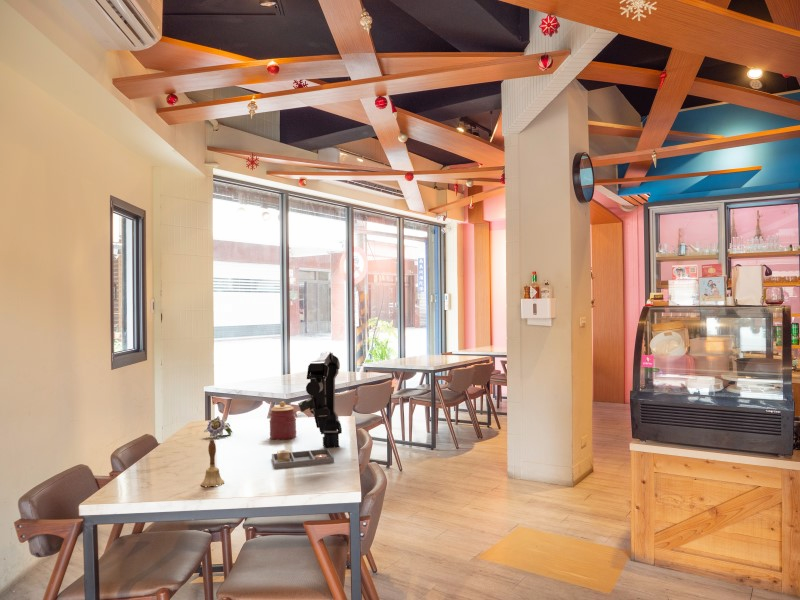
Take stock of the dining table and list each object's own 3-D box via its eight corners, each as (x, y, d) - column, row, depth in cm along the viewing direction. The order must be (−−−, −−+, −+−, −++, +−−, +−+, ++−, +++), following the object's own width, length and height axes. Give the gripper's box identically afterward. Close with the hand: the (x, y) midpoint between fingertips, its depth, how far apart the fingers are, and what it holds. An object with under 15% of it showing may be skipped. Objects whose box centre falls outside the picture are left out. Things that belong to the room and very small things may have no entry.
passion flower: (215, 448, 292) (200, 430, 289) (218, 439, 302) (203, 422, 299) (234, 435, 292) (219, 417, 289) (236, 427, 303) (221, 409, 300)
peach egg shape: (326, 456, 243) (326, 453, 243) (327, 459, 239) (327, 456, 239) (314, 457, 242) (314, 455, 242) (315, 460, 237) (315, 458, 237)
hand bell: (229, 481, 214) (228, 437, 214) (215, 488, 206) (213, 443, 206) (210, 480, 216) (209, 437, 217) (195, 486, 208) (194, 442, 209)
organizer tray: (327, 454, 249) (327, 448, 249) (334, 463, 234) (333, 457, 234) (272, 460, 243) (271, 454, 243) (274, 469, 227) (274, 463, 227)
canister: (300, 434, 293) (299, 399, 293) (291, 440, 280) (290, 403, 281) (275, 434, 295) (274, 399, 296) (265, 440, 283) (264, 403, 283)
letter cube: (288, 460, 239) (288, 449, 239) (289, 463, 235) (289, 451, 235) (277, 461, 238) (277, 450, 238) (278, 464, 233) (278, 453, 234)
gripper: (296, 390, 248) (297, 427, 247) (301, 396, 230) (302, 436, 229) (322, 388, 251) (323, 425, 250) (329, 394, 233) (330, 433, 232)
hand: (319, 429), depth 241 cm, fingers open, 9 cm apart
